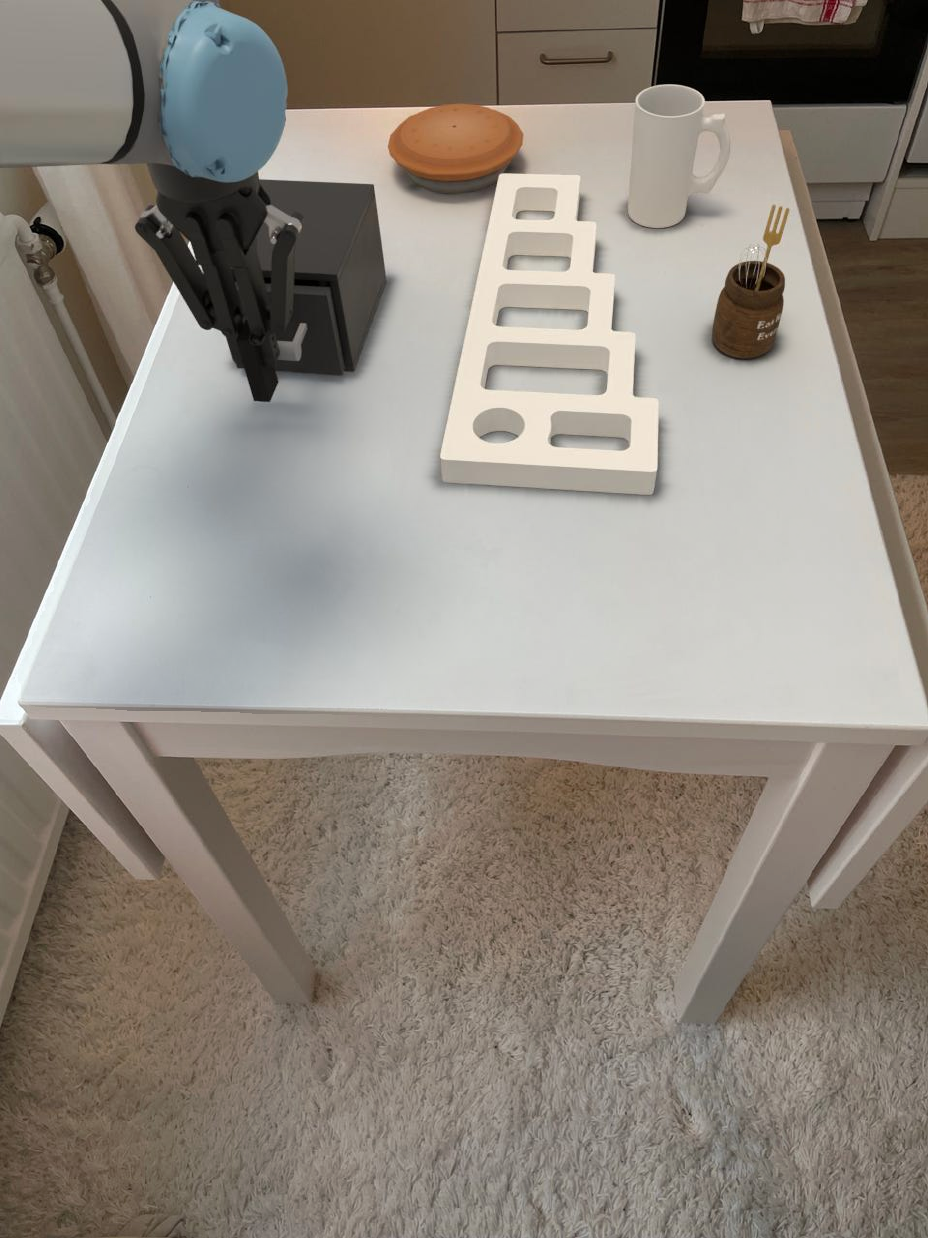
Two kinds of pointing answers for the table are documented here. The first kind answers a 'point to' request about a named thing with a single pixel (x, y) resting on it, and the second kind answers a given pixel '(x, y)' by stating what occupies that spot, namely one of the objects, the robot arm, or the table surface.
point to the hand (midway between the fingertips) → (266, 391)
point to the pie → (455, 147)
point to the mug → (670, 153)
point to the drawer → (309, 332)
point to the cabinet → (334, 250)
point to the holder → (546, 358)
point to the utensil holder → (751, 301)
